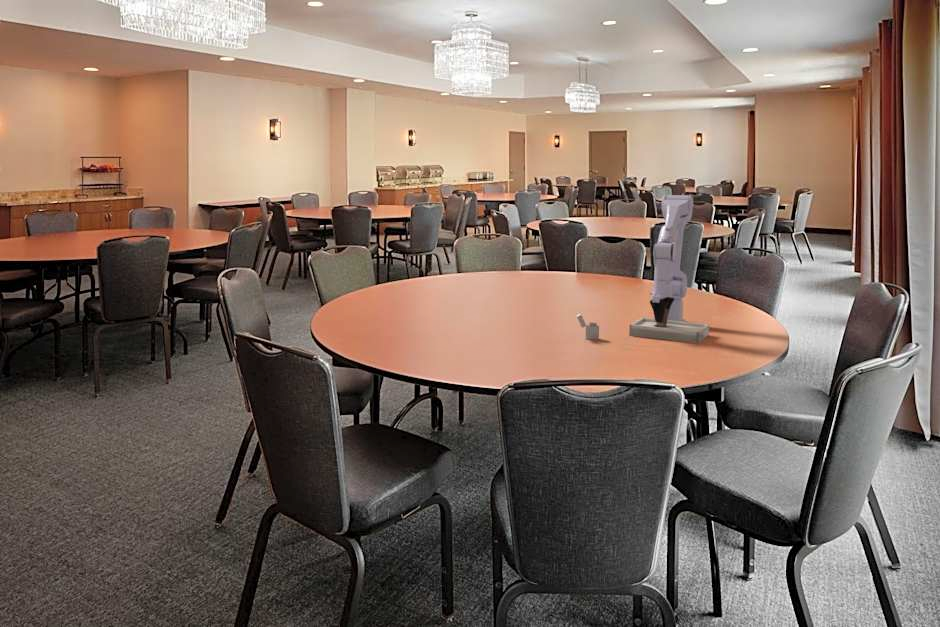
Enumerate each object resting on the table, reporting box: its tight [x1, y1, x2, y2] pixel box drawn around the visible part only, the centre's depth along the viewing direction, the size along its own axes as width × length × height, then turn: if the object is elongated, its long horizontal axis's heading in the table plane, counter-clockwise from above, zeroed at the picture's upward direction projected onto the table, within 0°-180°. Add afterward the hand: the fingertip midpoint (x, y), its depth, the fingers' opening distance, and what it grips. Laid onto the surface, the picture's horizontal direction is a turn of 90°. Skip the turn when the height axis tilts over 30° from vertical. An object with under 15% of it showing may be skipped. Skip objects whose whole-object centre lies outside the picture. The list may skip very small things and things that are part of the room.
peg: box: [656, 309, 669, 328], centre depth 235 cm, size 3×3×8 cm
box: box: [628, 317, 710, 344], centre depth 233 cm, size 13×22×4 cm, turn 59°
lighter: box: [576, 313, 600, 341], centre depth 228 cm, size 7×2×8 cm, turn 81°
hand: (661, 320), depth 235 cm, fingers open, 4 cm apart
